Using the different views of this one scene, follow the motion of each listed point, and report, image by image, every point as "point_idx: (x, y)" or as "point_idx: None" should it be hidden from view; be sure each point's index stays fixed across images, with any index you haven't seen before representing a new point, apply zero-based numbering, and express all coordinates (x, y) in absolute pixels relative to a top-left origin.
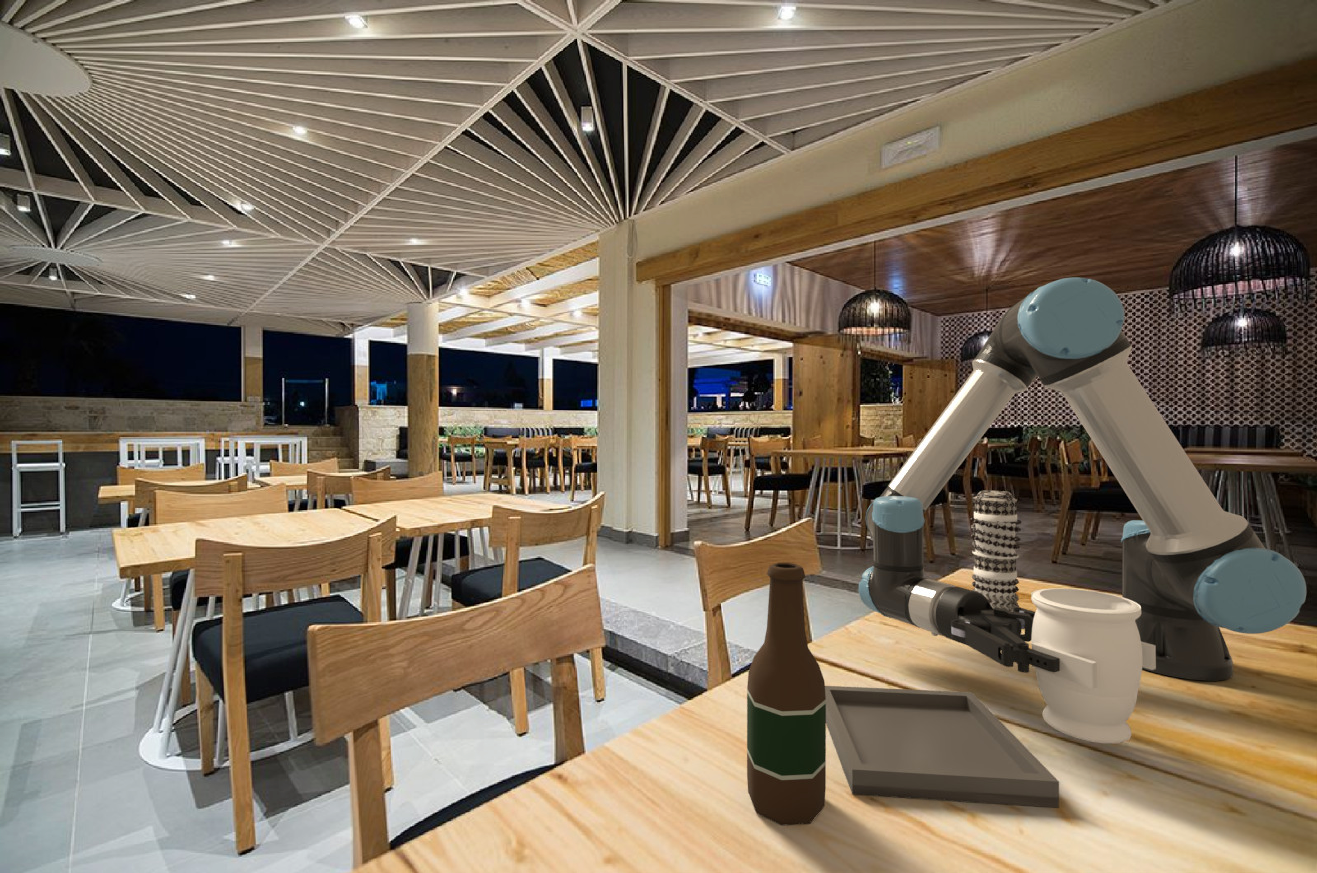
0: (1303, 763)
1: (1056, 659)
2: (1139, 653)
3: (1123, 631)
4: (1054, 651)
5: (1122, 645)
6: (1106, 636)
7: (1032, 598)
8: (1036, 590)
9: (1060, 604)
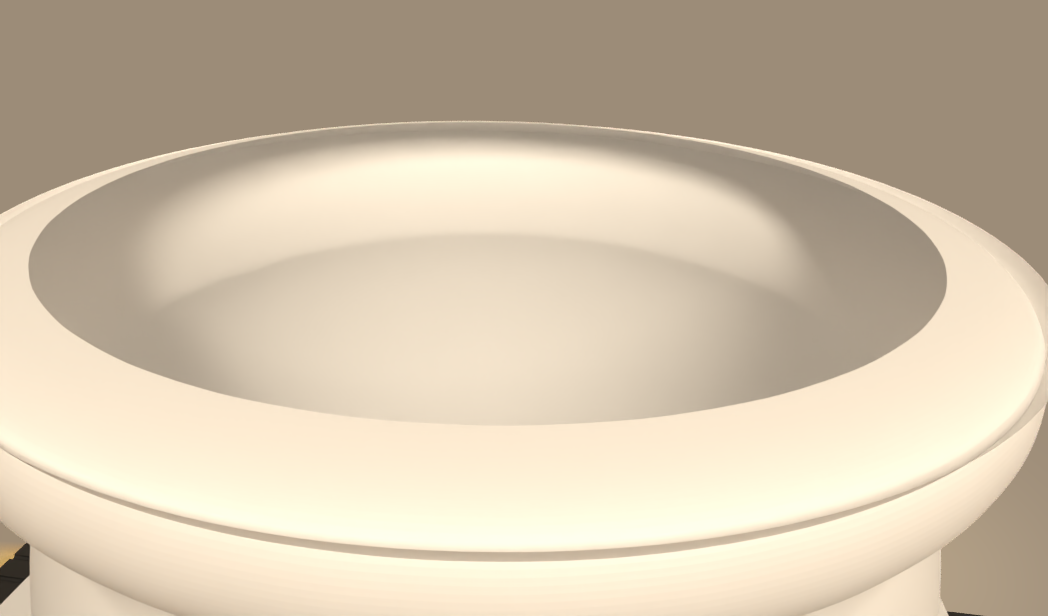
0: (13, 554)
1: (957, 613)
2: (489, 363)
3: (600, 256)
4: (942, 605)
5: (627, 325)
6: (713, 304)
7: (981, 475)
8: (468, 549)
9: (936, 229)
